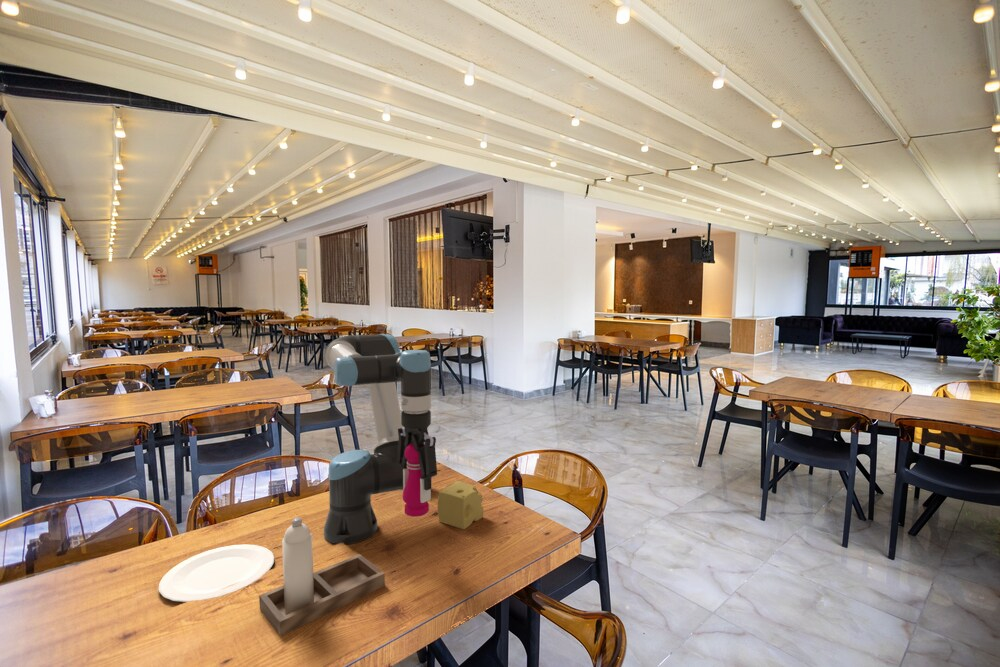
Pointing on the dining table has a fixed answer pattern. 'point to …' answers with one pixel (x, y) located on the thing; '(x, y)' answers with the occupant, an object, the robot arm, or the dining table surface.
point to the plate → (216, 573)
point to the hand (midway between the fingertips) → (416, 496)
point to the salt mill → (297, 567)
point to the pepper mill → (413, 485)
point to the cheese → (460, 505)
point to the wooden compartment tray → (324, 593)
